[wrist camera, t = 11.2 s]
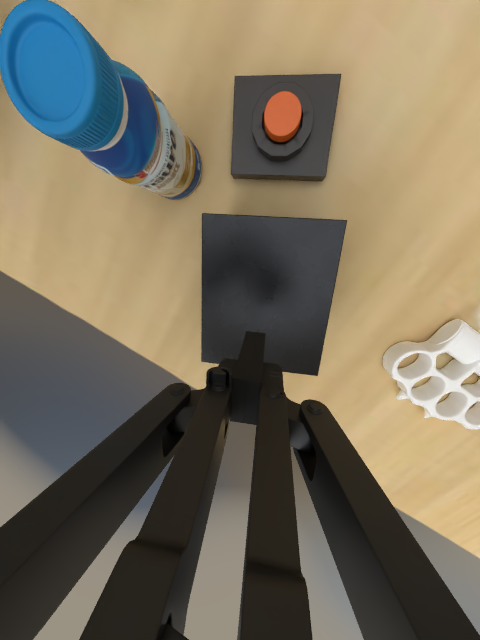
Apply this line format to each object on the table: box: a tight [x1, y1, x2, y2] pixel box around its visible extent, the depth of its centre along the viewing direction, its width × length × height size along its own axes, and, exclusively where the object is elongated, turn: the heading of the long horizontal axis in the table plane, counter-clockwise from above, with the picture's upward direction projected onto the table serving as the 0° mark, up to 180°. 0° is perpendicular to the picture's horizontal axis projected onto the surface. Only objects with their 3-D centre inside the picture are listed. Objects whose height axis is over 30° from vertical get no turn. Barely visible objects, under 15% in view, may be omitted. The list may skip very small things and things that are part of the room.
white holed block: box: [383, 319, 480, 429], centre depth 35 cm, size 3×18×15 cm
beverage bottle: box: [0, 0, 202, 200], centre depth 24 cm, size 8×8×20 cm
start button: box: [264, 91, 302, 142], centre depth 26 cm, size 4×4×2 cm
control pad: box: [231, 74, 341, 181], centre depth 28 cm, size 12×10×4 cm
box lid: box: [201, 213, 347, 376], centre depth 27 cm, size 18×15×1 cm
